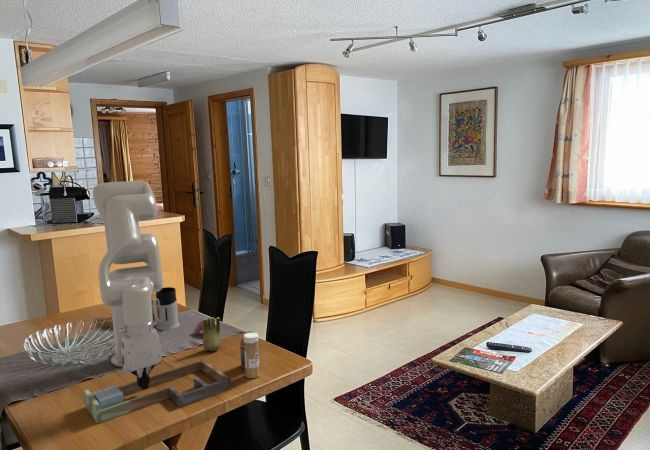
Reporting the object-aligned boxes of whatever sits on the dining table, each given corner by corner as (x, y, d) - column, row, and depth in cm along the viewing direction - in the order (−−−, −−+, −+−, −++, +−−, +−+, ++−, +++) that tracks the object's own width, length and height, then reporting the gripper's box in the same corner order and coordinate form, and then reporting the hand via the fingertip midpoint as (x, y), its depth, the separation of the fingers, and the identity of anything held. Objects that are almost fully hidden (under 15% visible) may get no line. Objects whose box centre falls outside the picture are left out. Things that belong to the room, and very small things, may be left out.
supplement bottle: (256, 371, 155) (254, 337, 153) (238, 369, 156) (236, 336, 155) (262, 363, 161) (260, 330, 159) (245, 361, 162) (243, 329, 160)
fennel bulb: (222, 347, 174) (221, 315, 172) (218, 353, 169) (216, 320, 167) (206, 347, 174) (205, 315, 172) (202, 353, 170) (200, 320, 168)
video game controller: (218, 340, 184) (223, 322, 186) (210, 339, 180) (215, 320, 182) (199, 335, 189) (204, 318, 191) (191, 334, 185) (196, 316, 187)
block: (94, 409, 134) (92, 393, 133) (117, 402, 138) (115, 385, 137) (101, 418, 130) (100, 401, 129) (124, 410, 134) (123, 393, 133)
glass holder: (183, 322, 199) (181, 287, 197) (165, 336, 185) (162, 298, 183) (163, 321, 201) (161, 286, 198) (144, 334, 187) (141, 296, 185)
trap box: (85, 407, 135) (84, 390, 134) (203, 367, 158) (202, 353, 157) (106, 435, 122) (104, 416, 121) (231, 388, 145) (230, 372, 144)
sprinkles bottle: (256, 379, 149) (254, 338, 147) (242, 378, 151) (240, 336, 149) (262, 373, 154) (260, 332, 152) (249, 371, 155) (247, 331, 153)
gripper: (116, 339, 130) (121, 402, 133) (170, 324, 139) (173, 383, 143) (107, 330, 135) (112, 391, 139) (159, 317, 145) (163, 374, 148)
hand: (143, 387), depth 141 cm, fingers closed
